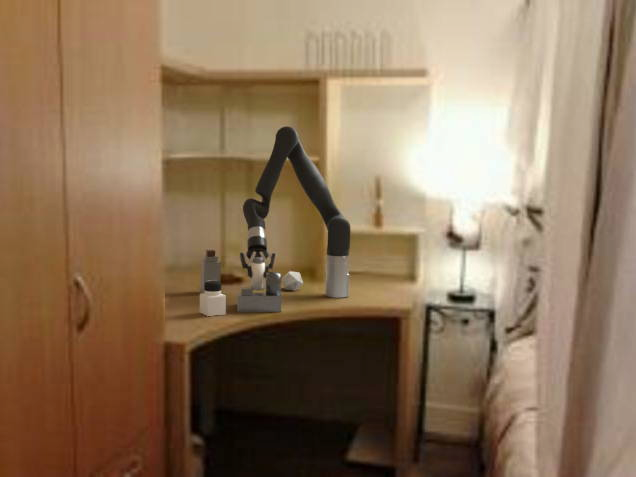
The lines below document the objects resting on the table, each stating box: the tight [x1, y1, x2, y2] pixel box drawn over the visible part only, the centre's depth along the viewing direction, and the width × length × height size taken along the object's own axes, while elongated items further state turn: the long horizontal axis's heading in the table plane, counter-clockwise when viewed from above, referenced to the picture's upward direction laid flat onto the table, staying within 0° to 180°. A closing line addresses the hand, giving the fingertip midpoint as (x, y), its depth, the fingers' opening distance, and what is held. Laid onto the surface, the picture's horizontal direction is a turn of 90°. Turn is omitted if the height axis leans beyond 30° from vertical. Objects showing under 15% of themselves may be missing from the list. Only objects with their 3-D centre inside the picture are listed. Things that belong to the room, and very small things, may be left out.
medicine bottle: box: [199, 280, 227, 317], centre depth 233 cm, size 7×7×12 cm
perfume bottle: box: [200, 249, 222, 294], centre depth 268 cm, size 7×7×18 cm
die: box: [281, 270, 304, 292], centre depth 281 cm, size 8×9×10 cm
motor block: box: [236, 271, 283, 313], centre depth 244 cm, size 16×13×14 cm
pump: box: [250, 257, 266, 291], centre depth 247 cm, size 5×5×12 cm
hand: (258, 276), depth 245 cm, fingers closed on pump, 5 cm apart
